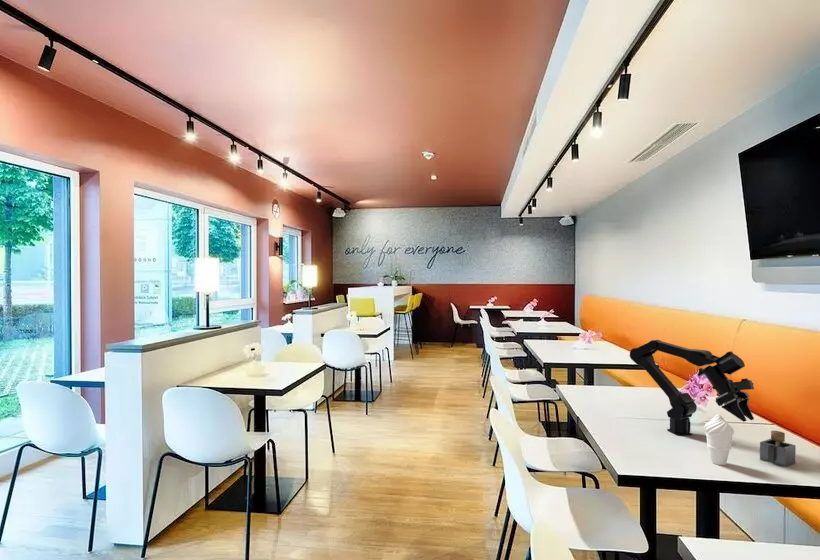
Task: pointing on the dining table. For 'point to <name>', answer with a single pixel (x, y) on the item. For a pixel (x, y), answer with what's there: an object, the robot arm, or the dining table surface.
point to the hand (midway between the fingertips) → (749, 420)
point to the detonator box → (777, 453)
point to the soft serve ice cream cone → (718, 439)
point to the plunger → (778, 437)
